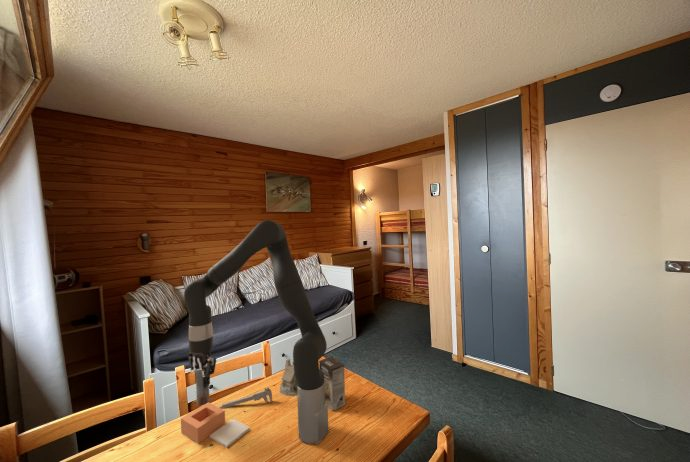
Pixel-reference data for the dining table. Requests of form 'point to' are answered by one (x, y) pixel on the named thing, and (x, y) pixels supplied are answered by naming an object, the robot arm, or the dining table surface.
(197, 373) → the dark grey bar
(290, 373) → the ceramic cottage
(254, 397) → the caliper
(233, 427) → the mat
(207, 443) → the dining table surface
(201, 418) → the block
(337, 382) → the coffee box
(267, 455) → the dining table surface
